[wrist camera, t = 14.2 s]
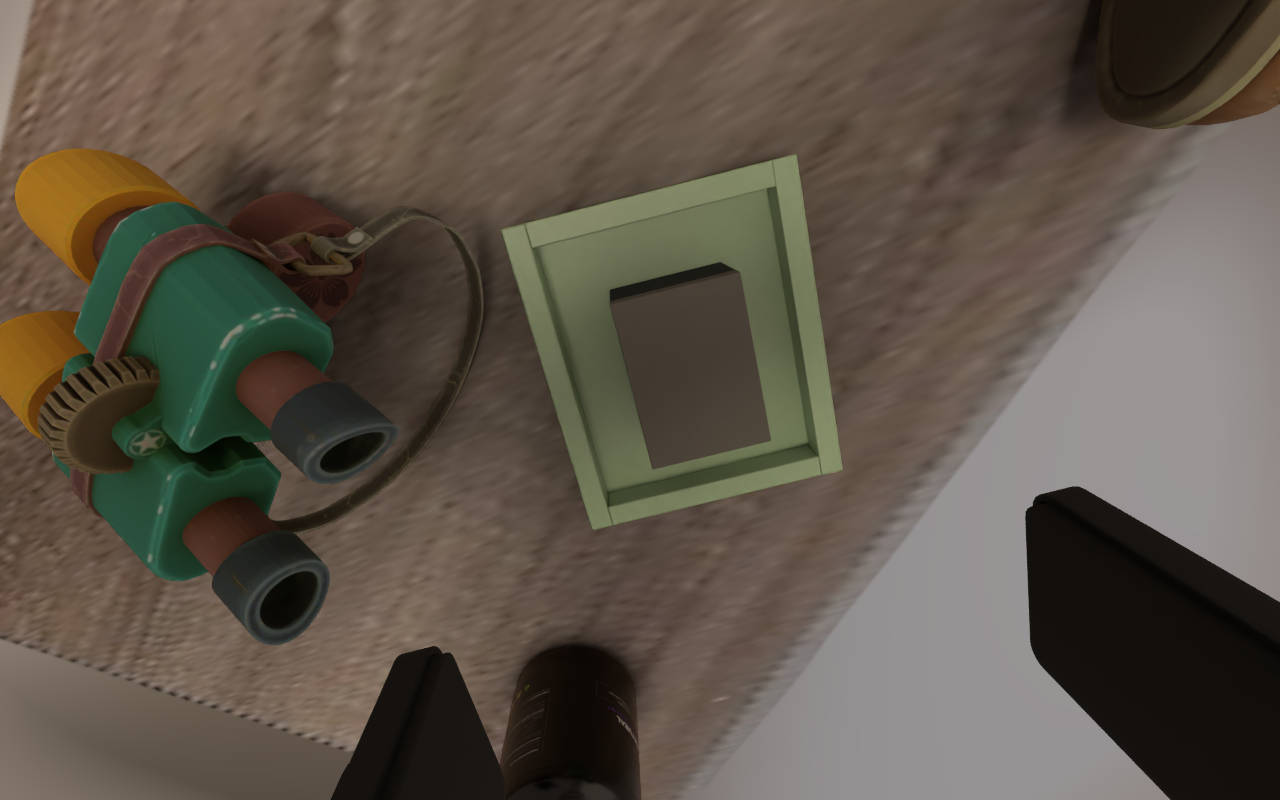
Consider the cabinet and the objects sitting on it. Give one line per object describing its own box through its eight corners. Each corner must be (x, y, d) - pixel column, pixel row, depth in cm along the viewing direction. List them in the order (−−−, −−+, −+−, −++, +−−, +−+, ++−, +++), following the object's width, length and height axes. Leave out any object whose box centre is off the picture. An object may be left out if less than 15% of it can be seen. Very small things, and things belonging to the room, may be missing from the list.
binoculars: (417, 181, 28) (-41, 4, 15) (649, 326, 24) (297, 263, 10) (317, 429, 32) (-128, 470, 18) (503, 597, 27) (94, 820, 14)
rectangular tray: (593, 505, 31) (592, 531, 28) (509, 226, 26) (499, 229, 24) (824, 449, 30) (843, 470, 28) (779, 157, 26) (796, 153, 23)
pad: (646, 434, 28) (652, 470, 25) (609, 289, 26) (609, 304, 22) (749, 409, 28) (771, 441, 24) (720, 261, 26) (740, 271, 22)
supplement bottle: (659, 674, 34) (685, 911, 23) (592, 753, 36) (585, 1012, 24) (556, 620, 33) (528, 844, 21) (491, 705, 34) (433, 956, 23)
